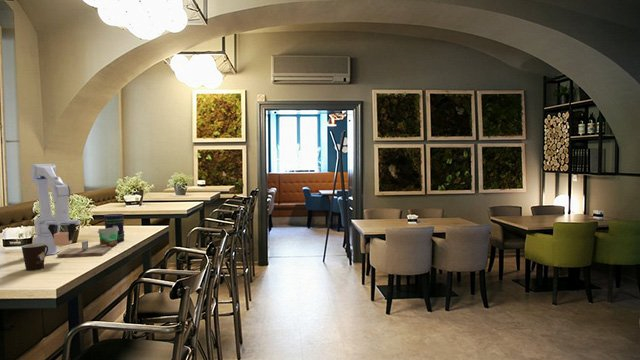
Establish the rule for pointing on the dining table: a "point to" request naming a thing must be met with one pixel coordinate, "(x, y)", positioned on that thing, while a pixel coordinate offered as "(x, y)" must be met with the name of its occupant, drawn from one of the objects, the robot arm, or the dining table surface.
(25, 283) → the dining table surface
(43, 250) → the coffee mug
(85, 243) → the post
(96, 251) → the board
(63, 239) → the collar
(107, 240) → the food container
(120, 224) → the storage jar
